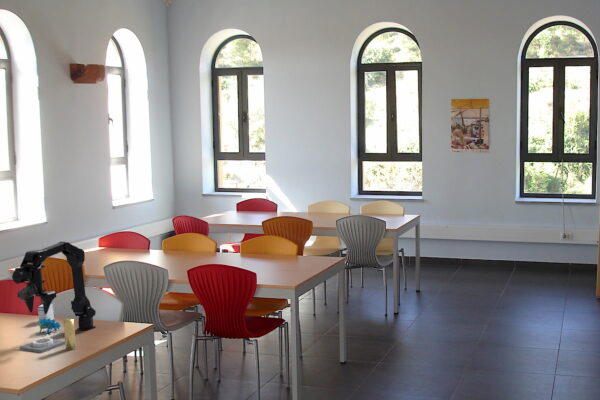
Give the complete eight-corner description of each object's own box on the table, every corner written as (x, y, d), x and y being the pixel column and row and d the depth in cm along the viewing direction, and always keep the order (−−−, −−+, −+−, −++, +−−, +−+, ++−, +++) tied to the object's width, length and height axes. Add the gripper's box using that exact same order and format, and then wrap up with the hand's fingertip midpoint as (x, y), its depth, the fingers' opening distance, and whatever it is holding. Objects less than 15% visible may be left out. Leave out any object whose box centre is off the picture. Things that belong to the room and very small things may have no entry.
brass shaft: (71, 346, 344) (68, 318, 343) (78, 347, 342) (75, 318, 341) (63, 349, 341) (61, 320, 339) (71, 350, 338) (68, 321, 337)
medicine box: (46, 319, 397) (44, 302, 396) (54, 319, 396) (52, 302, 396) (38, 323, 389) (37, 306, 388) (47, 323, 389) (45, 306, 388)
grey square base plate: (44, 340, 356) (43, 335, 356) (66, 343, 350) (65, 337, 349) (19, 349, 344) (19, 343, 344) (42, 352, 337) (41, 346, 337)
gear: (65, 326, 374) (52, 315, 367) (61, 337, 371) (48, 326, 364) (47, 328, 378) (34, 318, 371) (43, 339, 375) (30, 329, 368)
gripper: (6, 281, 344) (9, 316, 346) (36, 284, 335) (39, 319, 337) (26, 276, 354) (29, 310, 355) (55, 278, 345) (58, 313, 346)
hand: (38, 313), depth 348 cm, fingers open, 9 cm apart
